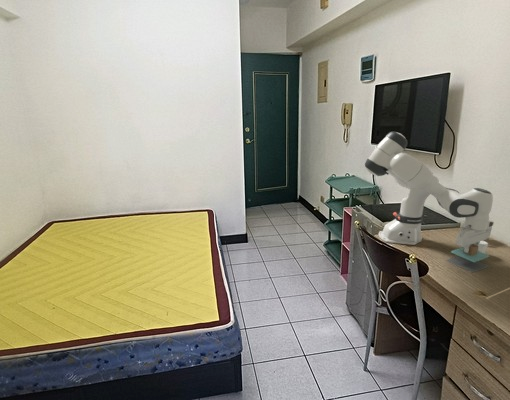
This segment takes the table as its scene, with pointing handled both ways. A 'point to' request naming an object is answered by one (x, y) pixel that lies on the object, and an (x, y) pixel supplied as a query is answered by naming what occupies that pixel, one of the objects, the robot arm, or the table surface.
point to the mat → (467, 264)
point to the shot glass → (482, 246)
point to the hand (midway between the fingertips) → (470, 250)
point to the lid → (470, 253)
